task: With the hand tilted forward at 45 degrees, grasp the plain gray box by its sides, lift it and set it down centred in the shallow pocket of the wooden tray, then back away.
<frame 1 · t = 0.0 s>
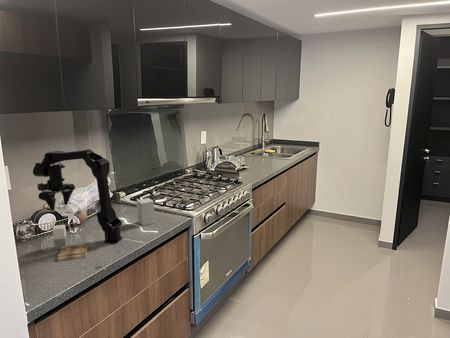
hand: (59, 207, 167), 15 cm above the countertop, tool pointing down, fingers open, 9 cm apart
wooden tray: (73, 253, 151), on the countertop
supplement box: (146, 222, 186), on the countertop
decorative fruit: (79, 224, 185), on the countertop
plain gray box: (61, 247, 158), on the countertop
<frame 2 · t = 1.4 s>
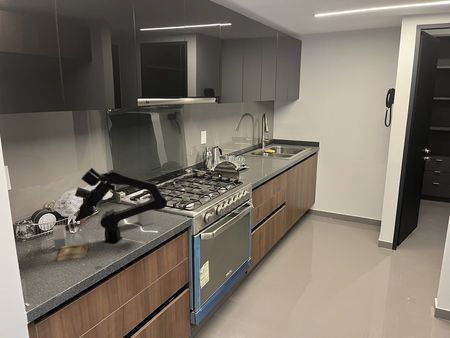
hand: (76, 217, 157), 13 cm above the countertop, tool tilted 45°, fingers open, 9 cm apart
nothing on the countertop moved.
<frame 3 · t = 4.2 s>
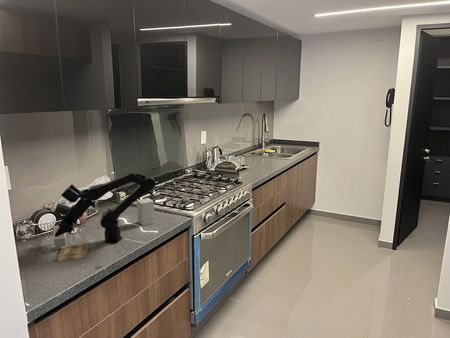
hand: (56, 234, 156), 7 cm above the countertop, tool tilted 45°, fingers closed on plain gray box, 4 cm apart
plain gray box: (61, 247, 158), on the countertop, touching gripper
everything else where it was.
when the fingers open (9 cm above the countertop, at t = 7.7 s): plain gray box drops 1 cm, resting on wooden tray.
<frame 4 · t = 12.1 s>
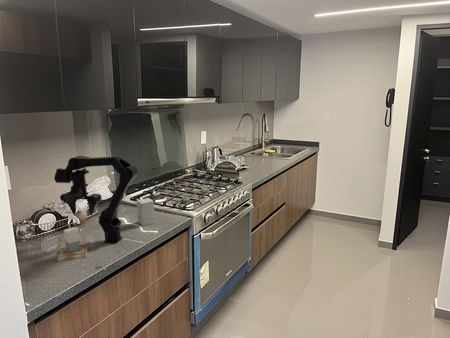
hand: (82, 214, 162), 13 cm above the countertop, tool pointing down, fingers open, 9 cm apart
plain gray box: (73, 250, 151), point 1 cm above the countertop, touching wooden tray
everything else where it was.
at the end: plain gray box 0.0 cm off-centre on the wooden tray, point 1.2 cm above the wooden tray's base; plain gray box tilted 0°; the gripper is holding nothing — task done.
